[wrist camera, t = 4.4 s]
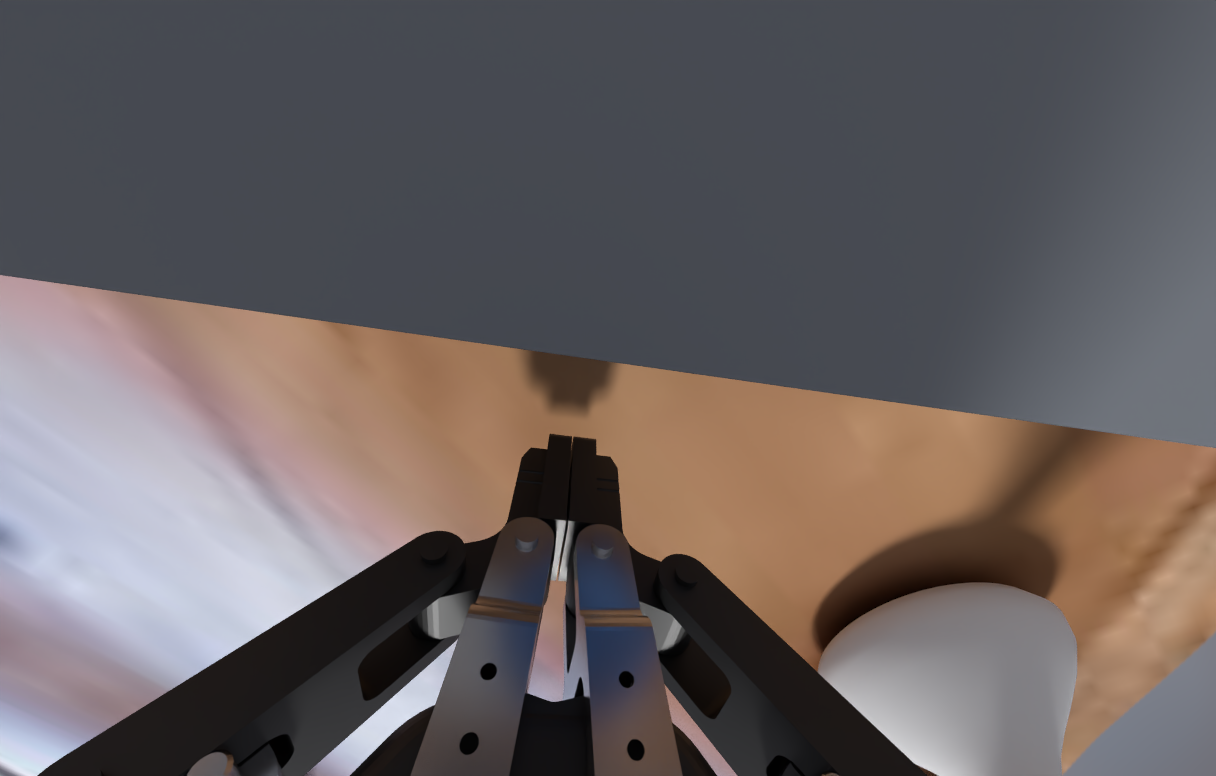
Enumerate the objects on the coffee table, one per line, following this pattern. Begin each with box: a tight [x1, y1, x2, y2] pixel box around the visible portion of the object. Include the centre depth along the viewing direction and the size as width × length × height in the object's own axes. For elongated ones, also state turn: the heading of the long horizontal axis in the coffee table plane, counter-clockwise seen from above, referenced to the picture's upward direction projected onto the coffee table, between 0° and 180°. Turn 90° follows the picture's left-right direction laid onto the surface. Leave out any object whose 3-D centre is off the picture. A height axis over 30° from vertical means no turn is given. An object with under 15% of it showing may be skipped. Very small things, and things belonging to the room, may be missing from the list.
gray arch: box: [0, 0, 1216, 448], centre depth 7 cm, size 3×15×10 cm, turn 80°
